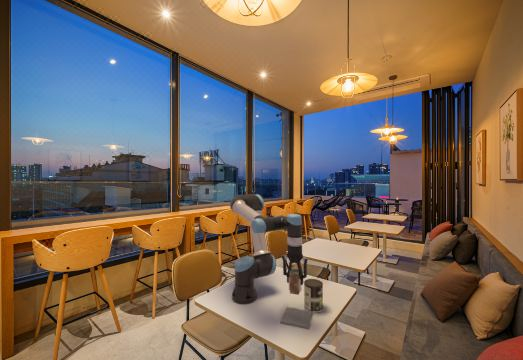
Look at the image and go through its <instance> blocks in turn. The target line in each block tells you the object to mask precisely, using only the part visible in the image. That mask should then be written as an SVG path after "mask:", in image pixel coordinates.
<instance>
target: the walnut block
mask: <svg viewBox="0 0 523 360" xmlns="http://www.w3.org/2000/svg"><path fill="white" fill-rule="evenodd" d="M299 278H300V275H299V270H298V268H297V269H296V268H291V270H290V290H289V294H293V295H297V296H298V295H299V294H300V293H301V292H299Z"/></svg>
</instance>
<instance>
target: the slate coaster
mask: <svg viewBox="0 0 523 360" xmlns="http://www.w3.org/2000/svg"><path fill="white" fill-rule="evenodd" d="M312 315H313V312H312V311H307V310H306V309H299V308H295V307H290V306H286V307H285V310H284V311H283V314H282V316H281V319H280V322H279V323H280V324H283V325H288V326H291V327H297V328H303V329H306V330H309V328H310V323H311V320H312Z"/></svg>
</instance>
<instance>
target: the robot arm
mask: <svg viewBox="0 0 523 360" xmlns="http://www.w3.org/2000/svg"><path fill="white" fill-rule="evenodd" d="M229 206H230V207H229V208H230V210H231V211H232V212H233V214H235V215H239V216H240V217H241V218H243V219H244V220H245V221H247V222H248V223H249V227H250V233H251V234H250V235H251V240H252V244H253V250H254V253H253V255H252V256H242V257H239V258H238V259H236V261H235V263H234V287H233V290H232V293H231V299H232V301H233V302H234V303H236V304H240V305H247V304H251V303H253V302H255V301H257V297H258V293H257V292H258V291H257V289H256V286H255V280H256V279H259V278H262V277H268V276H270V275H273V274H274V273H275V272H276V269H277V259H276V257H275V255H273V254H272V253H271V251H269V250H268V245H267V240H266V235H265V233H270V232H279V231H284V232H287V236H286V238H287V240H286V241H287V245H286V246H287V249H286V251H287V253H286V254H283V255H282V256H281V259H282V269H283V270H282V274H283V276H286V283H287V284H288V290H289V291H290V270H291V269H293V264H296V266H297V269H298V270H299V275H300V278H299V292H300V293H301V292H302V286H304V279H306V278H307V277H308V260H309V258H308V257H306V256H304V255H303V221H302V220H303V218H302V215H301V214H298V213H288V214H287V216H286V215H282V214H281V215H279V214H278V215H275V216H271V217H265V216H263V215H262V213H263V210H264V208H265V207H264V206H265V201H264V198H263V197H262V196H261V194H257V193H256V194H255V193H251V194H237V195H236V196H234V197H233V198H232V199H231V200H230V203H229ZM287 259H288V261H289V262H288V266H287ZM301 261H303V267H302V265H301V263H302V262H301ZM287 267H288V268H287Z"/></svg>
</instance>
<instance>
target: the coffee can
mask: <svg viewBox="0 0 523 360" xmlns="http://www.w3.org/2000/svg"><path fill="white" fill-rule="evenodd" d="M323 285H324V283H323V281H321V280H319V279H315V278H307V279H305V280H303V287H304V289H303V292H304V299H303V300H304V304H303V307H304V310H306V311H312V314H318V313H321V312H323V309H324V307H323V306H324V305H323V302H324V301H323V300H324V299H323V298H324V297H323V296H324V293H323V291H324V290H323V289H324V288H323V287H324V286H323Z"/></svg>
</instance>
